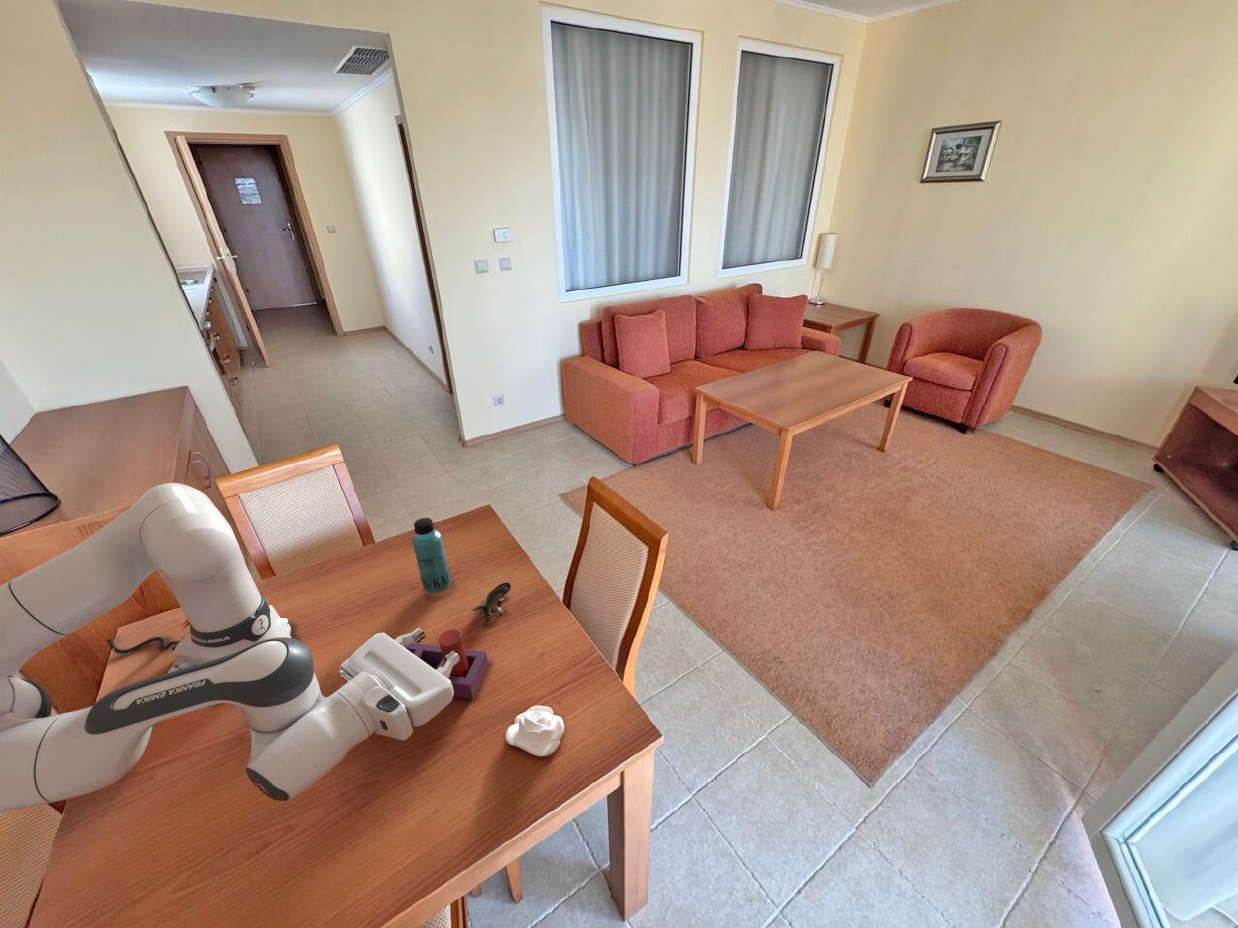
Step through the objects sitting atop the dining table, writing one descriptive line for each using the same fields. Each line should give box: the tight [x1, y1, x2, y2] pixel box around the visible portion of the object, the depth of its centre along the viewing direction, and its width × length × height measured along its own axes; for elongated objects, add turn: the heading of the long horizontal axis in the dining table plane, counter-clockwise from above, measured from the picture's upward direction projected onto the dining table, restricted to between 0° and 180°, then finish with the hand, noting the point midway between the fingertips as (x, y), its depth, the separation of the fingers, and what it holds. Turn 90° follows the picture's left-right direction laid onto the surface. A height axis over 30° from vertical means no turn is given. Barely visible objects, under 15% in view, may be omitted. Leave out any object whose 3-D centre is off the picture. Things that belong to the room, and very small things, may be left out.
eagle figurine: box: [470, 581, 512, 626], centre depth 112 cm, size 8×7×9 cm
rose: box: [505, 705, 565, 757], centre depth 86 cm, size 10×4×10 cm
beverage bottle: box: [411, 517, 452, 594], centre depth 115 cm, size 6×7×20 cm
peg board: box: [405, 642, 489, 700], centre depth 97 cm, size 20×8×4 cm, turn 81°
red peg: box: [438, 628, 470, 678], centre depth 94 cm, size 4×4×12 cm
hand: (439, 643), depth 90 cm, fingers open, 8 cm apart
